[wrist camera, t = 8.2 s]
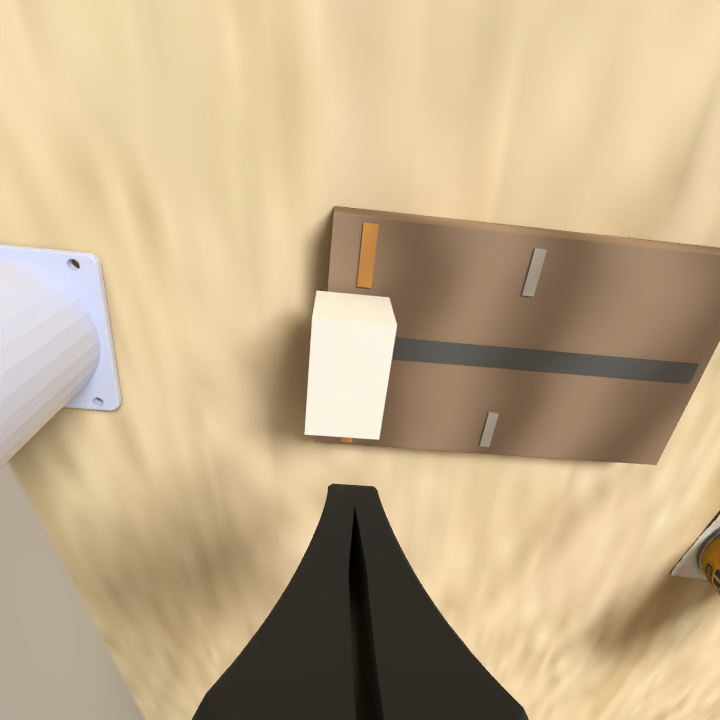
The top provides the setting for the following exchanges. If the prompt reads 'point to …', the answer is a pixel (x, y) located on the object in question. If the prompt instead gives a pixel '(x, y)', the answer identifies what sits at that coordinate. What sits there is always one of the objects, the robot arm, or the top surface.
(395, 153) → the top surface
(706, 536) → the condiment
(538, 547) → the top surface
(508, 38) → the top surface
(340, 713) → the robot arm
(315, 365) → the fader tab
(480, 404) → the fader board
